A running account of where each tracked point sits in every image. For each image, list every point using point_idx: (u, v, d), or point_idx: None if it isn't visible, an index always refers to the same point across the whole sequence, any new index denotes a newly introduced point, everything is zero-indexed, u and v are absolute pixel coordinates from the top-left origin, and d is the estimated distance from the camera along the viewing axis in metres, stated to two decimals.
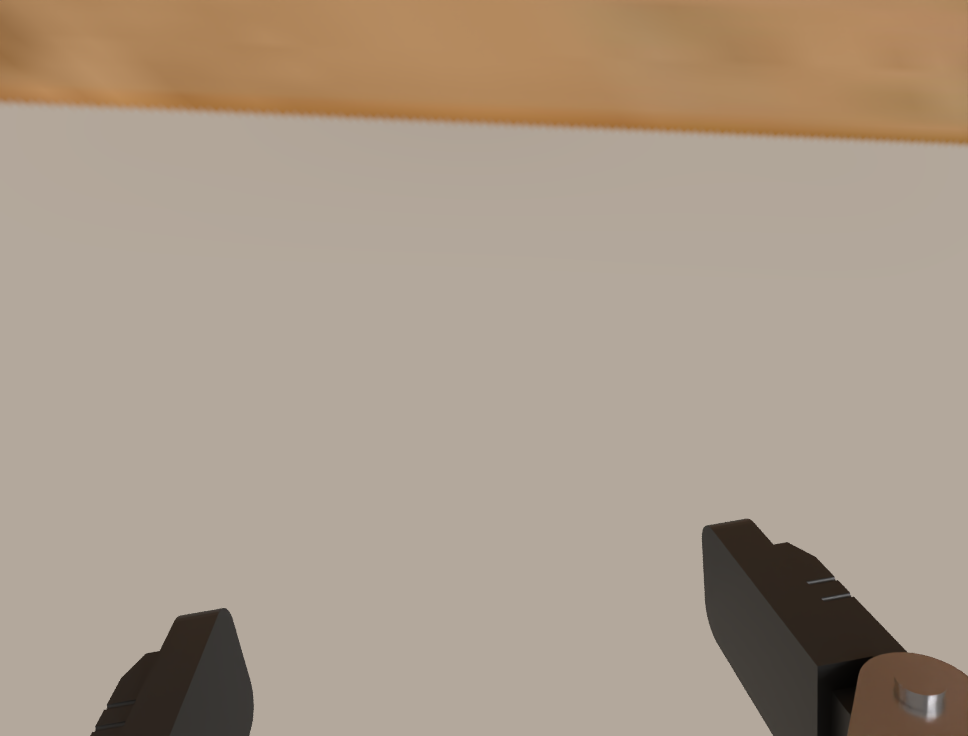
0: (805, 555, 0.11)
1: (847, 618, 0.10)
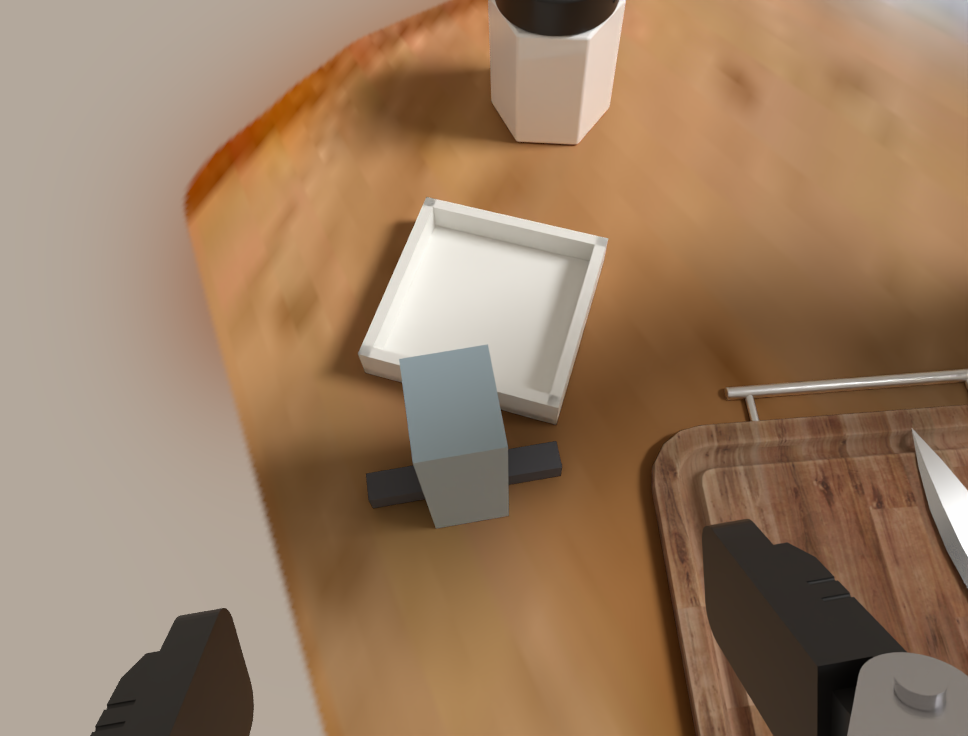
0: (805, 555, 0.11)
1: (847, 618, 0.10)
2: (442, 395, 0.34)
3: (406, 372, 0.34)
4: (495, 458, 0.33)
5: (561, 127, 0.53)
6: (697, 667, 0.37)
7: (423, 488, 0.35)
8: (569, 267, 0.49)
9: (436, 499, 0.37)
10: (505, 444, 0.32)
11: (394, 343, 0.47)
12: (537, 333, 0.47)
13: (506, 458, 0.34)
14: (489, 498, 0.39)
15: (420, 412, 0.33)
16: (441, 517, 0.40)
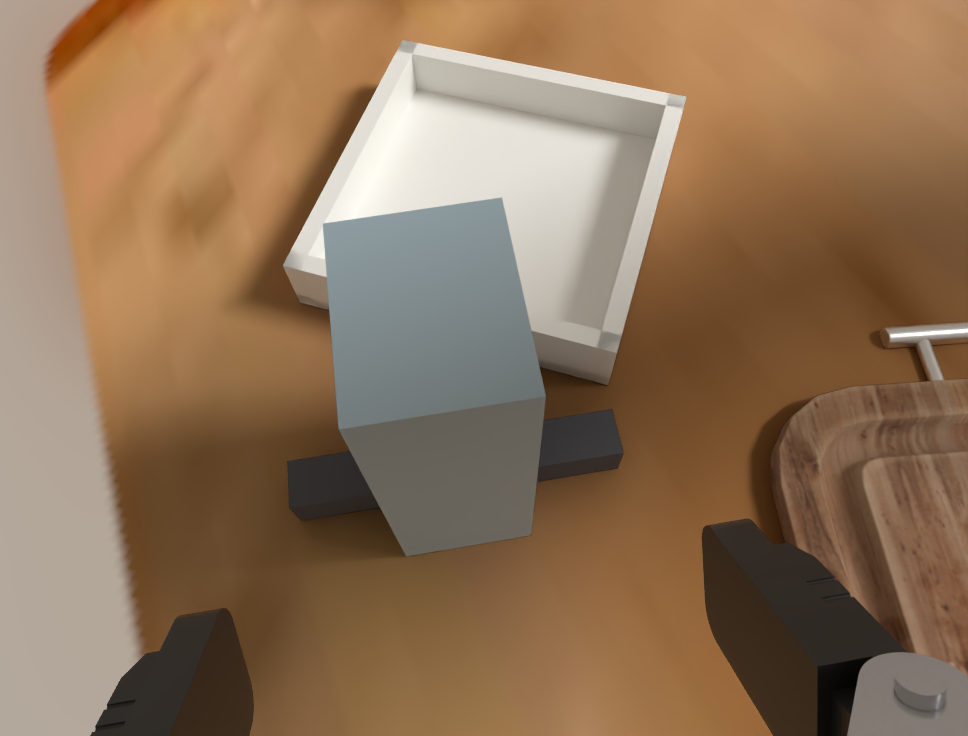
0: (805, 555, 0.11)
1: (847, 618, 0.10)
2: (408, 292, 0.16)
3: (335, 247, 0.17)
4: (517, 423, 0.16)
5: None
6: None
7: (372, 486, 0.18)
8: (622, 147, 0.32)
9: (401, 506, 0.20)
10: (540, 390, 0.15)
11: None
12: (575, 243, 0.29)
13: (539, 424, 0.16)
14: (500, 506, 0.21)
15: (360, 325, 0.16)
16: (414, 538, 0.23)
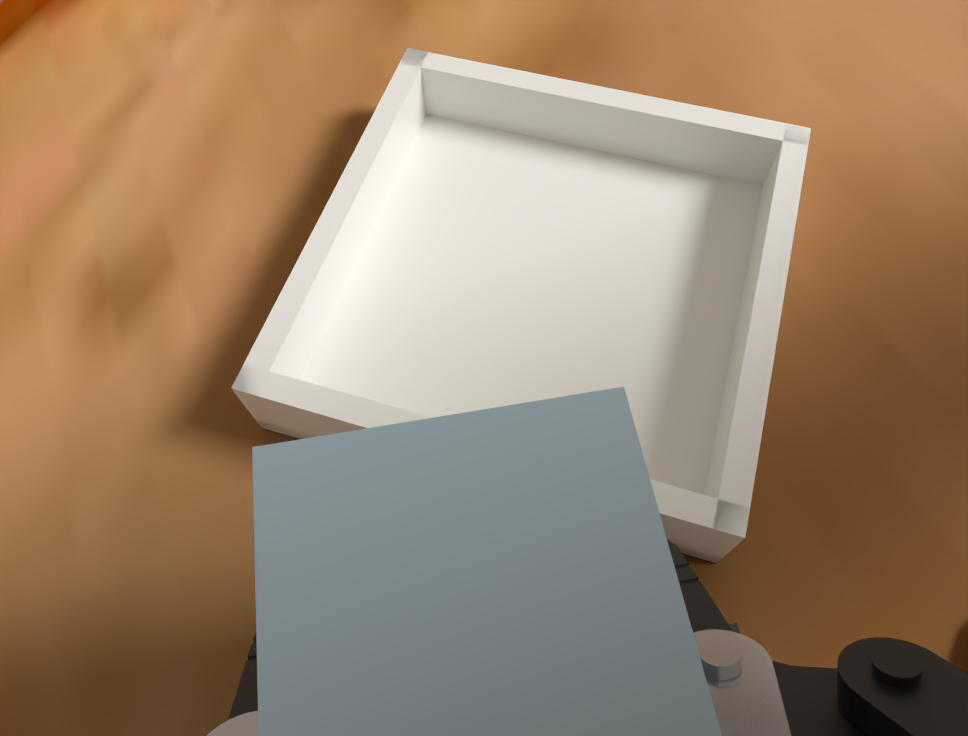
0: (668, 544, 0.12)
1: (689, 601, 0.11)
2: (434, 631, 0.07)
3: (277, 508, 0.08)
4: None
5: None
6: None
7: None
8: (714, 197, 0.23)
9: None
10: None
11: (330, 360, 0.20)
12: (657, 340, 0.20)
13: None
14: None
15: (327, 722, 0.07)
16: None
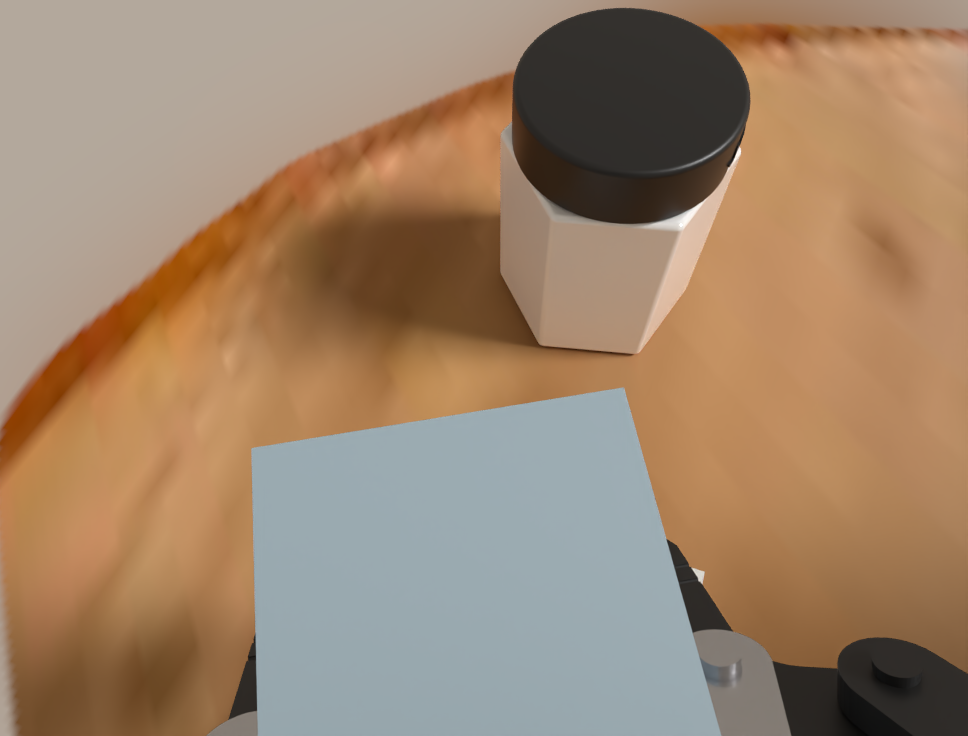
0: (668, 544, 0.12)
1: (689, 601, 0.11)
2: (435, 631, 0.07)
3: (276, 509, 0.08)
4: None
5: (615, 334, 0.32)
6: None
7: None
8: None
9: None
10: None
11: None
12: None
13: None
14: None
15: (326, 725, 0.07)
16: None
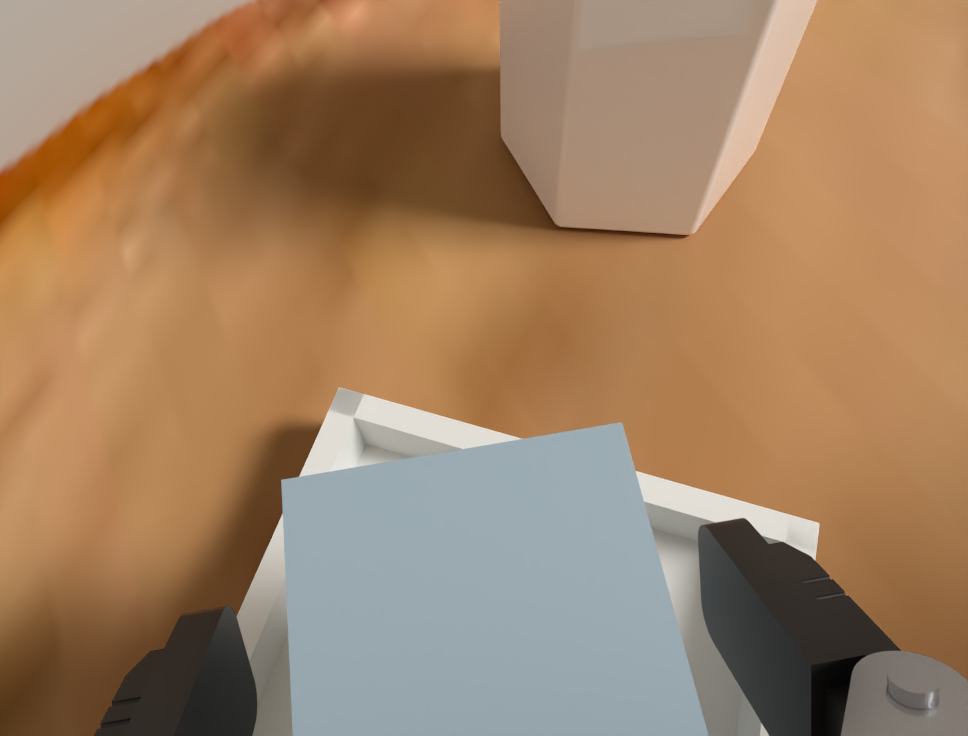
0: (800, 554, 0.12)
1: (842, 617, 0.10)
2: (451, 649, 0.08)
3: (306, 536, 0.09)
4: None
5: (663, 201, 0.23)
6: None
7: None
8: None
9: None
10: None
11: None
12: None
13: None
14: None
15: (354, 734, 0.08)
16: None
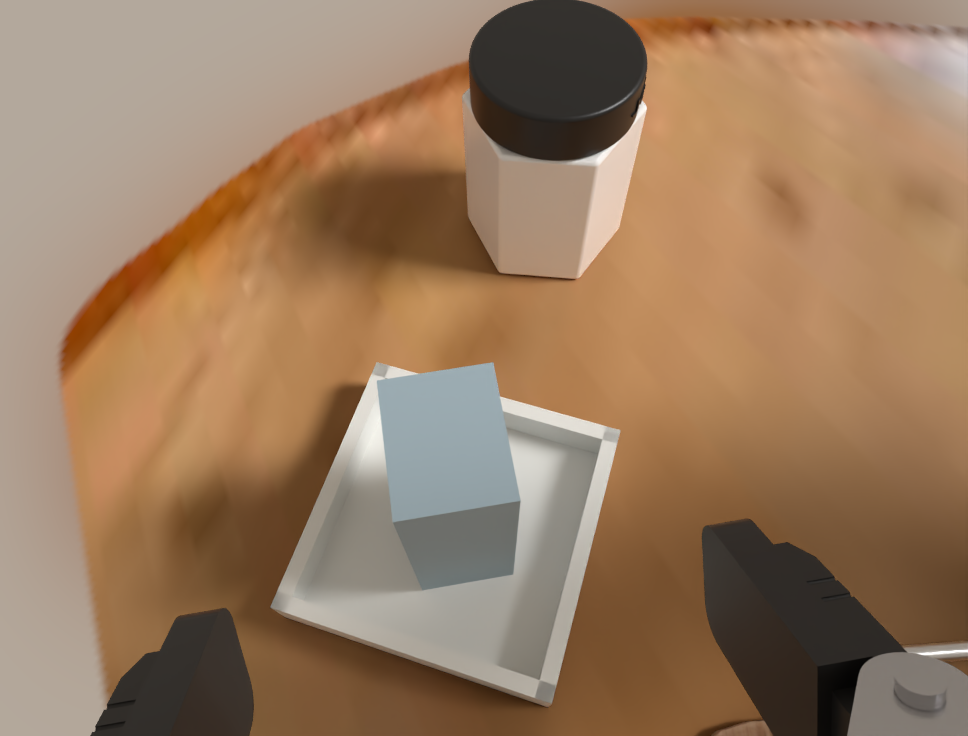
0: (805, 555, 0.11)
1: (847, 618, 0.10)
2: (433, 430, 0.25)
3: (385, 398, 0.26)
4: (502, 514, 0.25)
5: (558, 260, 0.41)
6: None
7: (406, 549, 0.27)
8: (567, 461, 0.36)
9: (424, 560, 0.29)
10: (517, 497, 0.24)
11: (326, 575, 0.34)
12: (523, 564, 0.34)
13: (517, 513, 0.25)
14: (491, 557, 0.30)
15: (403, 452, 0.25)
16: (429, 578, 0.32)
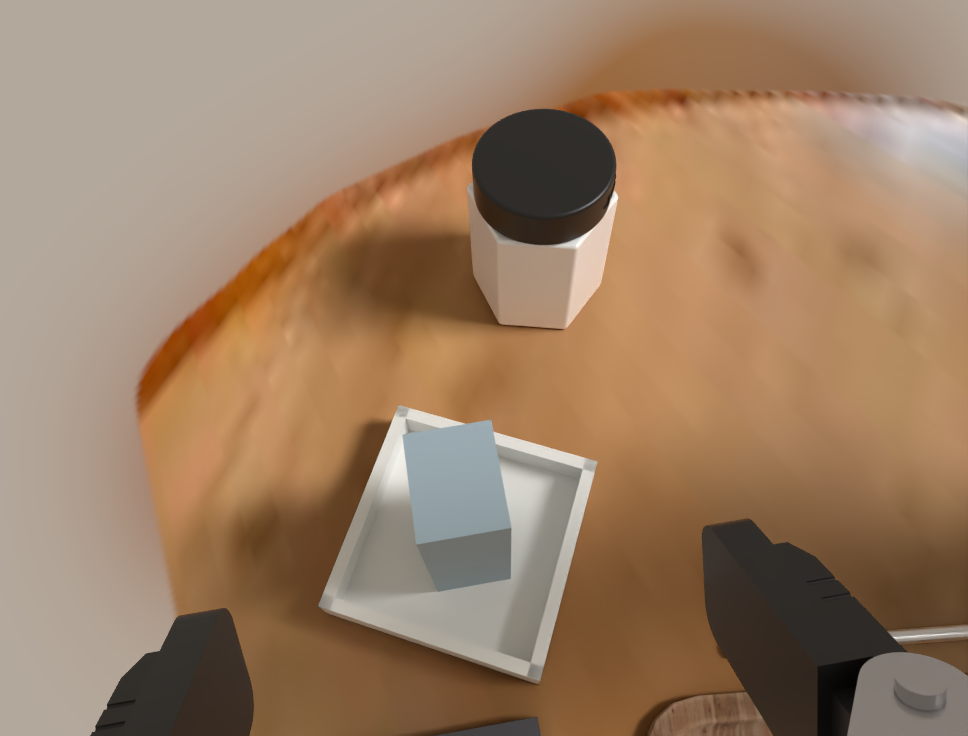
0: (805, 555, 0.11)
1: (847, 618, 0.10)
2: (446, 473, 0.34)
3: (409, 448, 0.34)
4: (498, 536, 0.33)
5: (548, 315, 0.49)
6: None
7: (426, 562, 0.35)
8: (555, 486, 0.45)
9: (439, 569, 0.37)
10: (509, 525, 0.32)
11: (360, 580, 0.42)
12: (518, 570, 0.42)
13: (509, 536, 0.34)
14: (491, 566, 0.39)
15: (423, 491, 0.33)
16: (443, 583, 0.40)
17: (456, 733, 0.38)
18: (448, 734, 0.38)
